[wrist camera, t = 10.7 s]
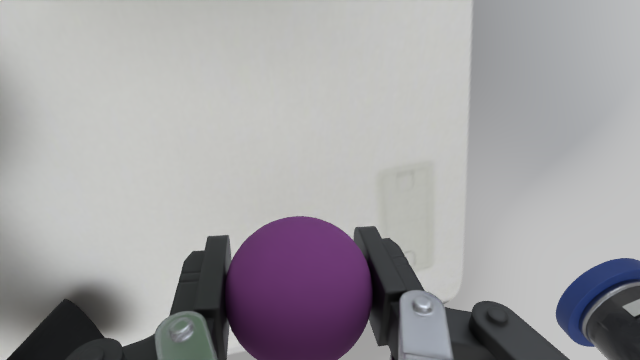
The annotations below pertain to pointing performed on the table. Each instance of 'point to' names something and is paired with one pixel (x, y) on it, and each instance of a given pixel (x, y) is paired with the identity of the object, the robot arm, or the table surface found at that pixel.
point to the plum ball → (298, 291)
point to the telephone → (58, 335)
